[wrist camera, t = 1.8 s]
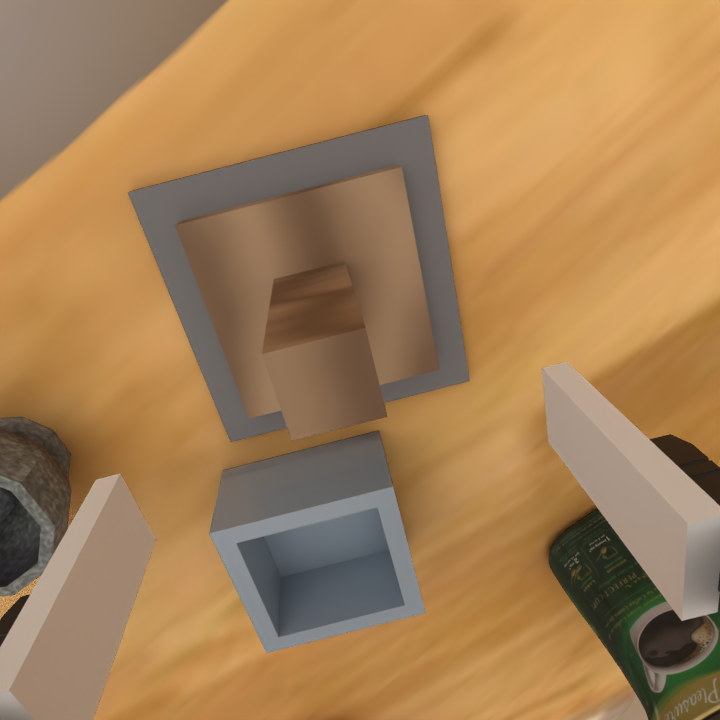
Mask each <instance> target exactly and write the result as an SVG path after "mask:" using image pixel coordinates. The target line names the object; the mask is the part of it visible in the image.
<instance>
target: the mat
mask: <svg viewBox="0 0 720 720" xmlns="http://www.w3.org/2000/svg"><path fill="white" fill-rule="evenodd" d="M396 165H399V166H401V167H402V171H403V176H404V181H405V187H406V192H407V198H408V203H409V208H410V214H411V219H412V225H413V230H414V235H415V241H416V246H417V252H418V257H419V263H420V268H421V273H422V279H423V284H424V290H425V295H426V300H427V306H428V311H429V317H430V322H431V327H432V333H433V338H434V344H435V349H436V354H437V360H438V365H439V370H437V371H433V372H429V373H425V374H421V375H418V376H414V377H410V378H406V379H402V380H398V381H394V382H390V383H386V384H382V385H380V389H381V393H382V397H383V401H384V403H385V402H389V401H393V400H397V399H401V398H405V397H409V396H413V395H417V394H421V393H424V392H428V391H432V390H436V389H440V388H444V387H448V386H452V385H456V384H460V383H464V382H467V381H470V379H469V373H468V366H467V360H466V354H465V347H464V341H463V335H462V328H461V322H460V316H459V309H458V303H457V297H456V290H455V284H454V278H453V271H452V265H451V259H450V252H449V246H448V240H447V233H446V227H445V221H444V214H443V208H442V201H441V195H440V189H439V182H438V176H437V170H436V163H435V157H434V151H433V144H432V138H431V132H430V125H429V119H428V115H424V116H420V117H416V118H412V119H408V120H405V121H401V122H397V123H393V124H389V125H385V126H381V127H377V128H374V129H370V130H366V131H362V132H358V133H354V134H350V135H346V136H342V137H339V138H335V139H331V140H327V141H323V142H319V143H315V144H311V145H308V146H304V147H300V148H296V149H292V150H288V151H284V152H280V153H277V154H273V155H269V156H265V157H261V158H257V159H253V160H249V161H246V162H242V163H238V164H234V165H230V166H226V167H222V168H218V169H214V170H211V171H207V172H203V173H199V174H195V175H191V176H187V177H183V178H180V179H176V180H172V181H168V182H164V183H160V184H156V185H152V186H149V187H145V188H141V189H137V190H133V191H130V192H128V194H129V196H130V199H131V201H132V204H133V206H134V209H135V211H136V213H137V216H138V218H139V221H140V223H141V226H142V228H143V230H144V233H145V235H146V238H147V240H148V243H149V245H150V247H151V250H152V252H153V255H154V257H155V260H156V262H157V264H158V267H159V269H160V272H161V274H162V277H163V279H164V281H165V284H166V286H167V289H168V291H169V294H170V296H171V298H172V301H173V303H174V306H175V308H176V311H177V313H178V315H179V318H180V320H181V323H182V325H183V328H184V330H185V332H186V335H187V337H188V340H189V342H190V345H191V347H192V349H193V352H194V354H195V357H196V359H197V362H198V364H199V366H200V369H201V371H202V374H203V376H204V379H205V381H206V383H207V386H208V388H209V391H210V393H211V396H212V398H213V400H214V403H215V405H216V408H217V410H218V413H219V415H220V417H221V420H222V422H223V425H224V427H225V430H226V432H227V434H228V437H229V439H230V442H233V441H237V440H241V439H245V438H249V437H252V436H256V435H260V434H264V433H268V432H272V431H276V430H280V429H284V428H287V426H286V423H285V420H284V417H283V414H282V411H277V412H273V413H269V414H265V415H261V416H257V417H253V418H250V419H249V417H248V414H247V412H246V409H245V407H244V404H243V401H242V399H241V396H240V394H239V391H238V388H237V386H236V383H235V380H234V378H233V375H232V373H231V370H230V367H229V365H228V362H227V360H226V357H225V354H224V352H223V349H222V347H221V344H220V341H219V339H218V336H217V334H216V331H215V328H214V326H213V323H212V321H211V318H210V315H209V313H208V310H207V308H206V305H205V302H204V300H203V297H202V295H201V292H200V289H199V287H198V284H197V281H196V279H195V276H194V274H193V271H192V268H191V266H190V263H189V261H188V258H187V255H186V253H185V250H184V248H183V245H182V242H181V240H180V237H179V235H178V232H177V229H176V227H175V225H176V224H177V223H178V222H179V221H183V220H186V219H190V218H194V217H198V216H202V215H206V214H210V213H214V212H218V211H221V210H225V209H229V208H233V207H237V206H241V205H245V204H249V203H253V202H256V201H260V200H264V199H268V198H272V197H276V196H280V195H284V194H287V193H291V192H295V191H299V190H303V189H307V188H311V187H315V186H319V185H322V184H326V183H330V182H334V181H338V180H342V179H346V178H350V177H353V176H357V175H361V174H365V173H369V172H373V171H377V170H381V169H385V168H388V167H392V166H396Z"/></svg>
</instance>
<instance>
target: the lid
mask: <svg viewBox="0 0 720 720" xmlns="http://www.w3.org/2000/svg"><path fill="white" fill-rule="evenodd" d="M175 227H176V229H177V232H178V235H179V237H180V240H181V242H182V245H183V248H184V250H185V253H186V255H187V258H188V261H189V263H190V266H191V268H192V271H193V274H194V276H195V279H196V281H197V284H198V287H199V289H200V292H201V295H202V297H203V300H204V302H205V305H206V308H207V310H208V313H209V315H210V318H211V321H212V323H213V326H214V328H215V331H216V334H217V336H218V339H219V341H220V344H221V347H222V349H223V352H224V354H225V357H226V360H227V362H228V365H229V367H230V370H231V373H232V375H233V378H234V380H235V383H236V386H237V388H238V391H239V394H240V396H241V399H242V401H243V404H244V407H245V409H246V412H247V414H248V417H249V419H250V418H253V417H257V416H261V415H265V414H269V413H273V412H277V411H282V414H283V417H284V420H285V423H286V426H287V428H288V431H289V434H290V437H291V440H292V441H294V440H298V439H301V438H305V437H309V436H313V435H317V434H321V433H325V432H329V431H333V430H337V429H341V428H344V427H348V426H352V425H356V424H360V423H364V422H368V421H372V420H376V419H380V418H384V417H387V413H386V409H385V405H384V401H383V397H382V393H381V389H380V385H382V384H386V383H390V382H394V381H398V380H402V379H406V378H410V377H414V376H418V375H421V374H425V373H429V372H433V371H437V370H439V365H438V360H437V354H436V349H435V344H434V338H433V333H432V327H431V322H430V317H429V311H428V306H427V300H426V295H425V290H424V284H423V279H422V273H421V268H420V263H419V257H418V252H417V246H416V241H415V235H414V230H413V225H412V219H411V214H410V208H409V203H408V198H407V192H406V187H405V181H404V176H403V171H402V167H401V166H399V165H396V166H392V167H388V168H385V169H381V170H377V171H373V172H369V173H365V174H361V175H357V176H353V177H350V178H346V179H342V180H338V181H334V182H330V183H326V184H322V185H319V186H315V187H311V188H307V189H303V190H299V191H295V192H291V193H287V194H284V195H280V196H276V197H272V198H268V199H264V200H260V201H256V202H253V203H249V204H245V205H241V206H237V207H233V208H229V209H225V210H221V211H218V212H214V213H210V214H206V215H202V216H198V217H194V218H190V219H186V220H183V221H179V222H178V223H177V224H176V225H175Z"/></svg>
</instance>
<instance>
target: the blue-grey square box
mask: <svg viewBox="0 0 720 720" xmlns="http://www.w3.org/2000/svg"><path fill="white" fill-rule="evenodd" d="M209 534H210V536H211V538H212V540H213V542H214V544H215V546H216V549H217V551H218V553H219V555H220V557H221V559H222V561H223V563H224V565H225V567H226V569H227V572H228V574H229V576H230V578H231V580H232V582H233V584H234V586H235V588H236V590H237V592H238V595H239V597H240V599H241V601H242V603H243V605H244V607H245V609H246V611H247V613H248V615H249V618H250V620H251V622H252V624H253V626H254V628H255V630H256V632H257V634H258V636H259V638H260V641H261V643H262V645H263V647H264V649H265V651H266V653H270V652H274V651H278V650H282V649H286V648H289V647H293V646H297V645H301V644H305V643H309V642H313V641H317V640H321V639H325V638H329V637H333V636H337V635H341V634H345V633H348V632H352V631H356V630H360V629H364V628H368V627H372V626H376V625H380V624H384V623H388V622H392V621H396V620H400V619H404V618H407V617H411V616H415V615H419V614H423V613H426V612H425V608H424V605H423V601H422V597H421V593H420V589H419V585H418V581H417V577H416V573H415V569H414V565H413V561H412V557H411V553H410V549H409V545H408V542H407V538H406V534H405V530H404V526H403V522H402V518H401V514H400V510H399V507H398V503H397V499H396V495H395V491H394V487H393V483H392V479H391V475H390V472H389V468H388V464H387V460H386V456H385V452H384V448H383V444H382V441H381V437H380V433H379V431H375V432H371V433H367V434H364V435H360V436H356V437H352V438H348V439H344V440H340V441H336V442H332V443H328V444H324V445H321V446H317V447H313V448H309V449H305V450H301V451H297V452H293V453H289V454H285V455H281V456H277V457H274V458H270V459H266V460H262V461H258V462H254V463H250V464H246V465H242V466H238V467H234V468H231V469H227V470H223V473H222V477H221V482H220V486H219V491H218V496H217V500H216V505H215V509H214V514H213V519H212V523H211V528H210V532H209Z"/></svg>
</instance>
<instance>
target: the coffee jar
mask: <svg viewBox="0 0 720 720" xmlns="http://www.w3.org/2000/svg"><path fill="white" fill-rule="evenodd" d="M549 565H550V567H551V569H552V571H553V573H554V575H555V576H556V578H557V580H558V581H559V583H560V585H561V586H562V588H563V589H564V591H565V592H566V594H567V595H568V596H569V598H570V599H571V601H572V602H573V603H574V605H575V606H576V608H577V609H578V610H579V612H580V613H581V614H582V616H583V617H584V619H585V620H586V621H587V623H588V624H589V625H590V627H591V628H592V629H593V631H594V632H595V633H596V635H597V636H598V638H599V639H600V640H601V642H602V643H603V645H604V646H605V647H606V649H607V650H608V652H609V653H610V655H611V656H612V657H613V659H614V660H615V662H616V663H617V665H618V666H619V668H620V669H621V671H622V672H623V674H624V675H625V677H626V679H627V680H628V682H629V683H630V685H631V687H632V688H633V690H634V691H635V693H636V695H637V697H638V698H639V700H640V701H641V703H642V705H643V707H644V709H645V711H646V714H647V716H648V720H720V594H719V603H718V612H716V613H712V614H708V615H704V616H700V617H696V618H692V619H687V620H683V621H681V619H680V618H679V617H678V615H677V614H676V613H675V611H674V610H673V609H672V607H671V606H670V605H669V603H668V602H667V601H666V599H665V598H664V597H663V595H662V594H661V592H660V591H659V590H658V588H657V587H656V586H655V584H654V583H653V582H652V580H651V579H650V578H649V576H648V575H647V574H646V572H645V571H644V570H643V568H642V567H641V566H640V564H639V563H638V562H637V560H636V559H635V558H634V556H633V555H632V554H631V552H630V551H629V550H628V548H627V547H626V545H625V544H624V543H623V541H622V540H621V539H620V537H619V536H618V535H617V533H616V532H615V531H614V529H613V528H612V527H611V525H610V524H609V523H608V521H607V520H606V519H605V517H604V516H603V515H602V513H601V512H600V511H599V509H598V510H596V511H594V512H593V513H591V514H589V515H588V516H586V517H585V518H583V519H582V520H580V521H579V522H578V523H576V524H575V525H573V526H572V527H570V528H569V529H568V530H567V531H565V532H564V533H563V534H562V535H560V536H559V537H558V538H557V539H556V540H555V542H554V543H553V545H552V546H551V549H550V553H549Z"/></svg>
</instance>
